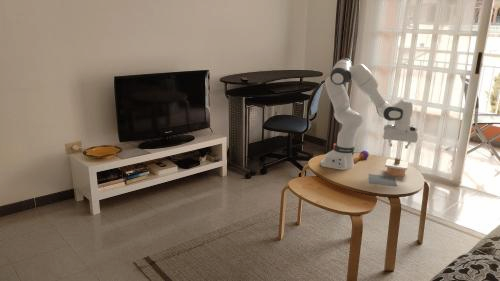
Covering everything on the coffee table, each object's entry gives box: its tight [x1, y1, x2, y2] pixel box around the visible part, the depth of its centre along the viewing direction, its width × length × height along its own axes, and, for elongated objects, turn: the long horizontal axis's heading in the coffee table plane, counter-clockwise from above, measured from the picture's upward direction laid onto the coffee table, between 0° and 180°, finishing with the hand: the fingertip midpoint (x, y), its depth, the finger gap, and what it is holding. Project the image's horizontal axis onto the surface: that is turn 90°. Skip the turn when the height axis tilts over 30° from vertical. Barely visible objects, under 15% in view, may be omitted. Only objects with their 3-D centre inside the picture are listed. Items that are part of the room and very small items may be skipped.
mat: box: [368, 173, 398, 187], centre depth 236 cm, size 16×16×1 cm
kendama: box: [353, 150, 370, 164], centre depth 270 cm, size 6×6×20 cm
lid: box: [384, 157, 409, 171], centre depth 245 cm, size 13×13×4 cm
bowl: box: [386, 167, 407, 177], centre depth 247 cm, size 11×11×6 cm
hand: (398, 147), depth 243 cm, fingers open, 8 cm apart
